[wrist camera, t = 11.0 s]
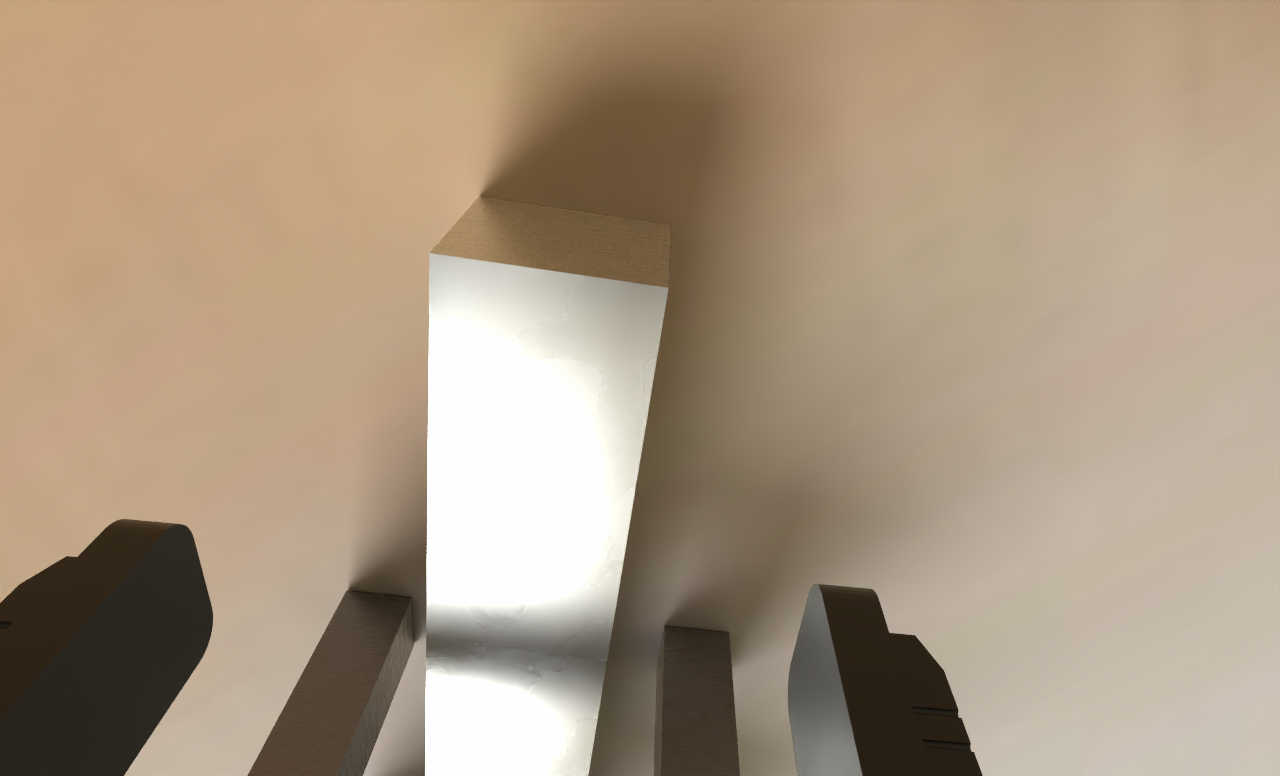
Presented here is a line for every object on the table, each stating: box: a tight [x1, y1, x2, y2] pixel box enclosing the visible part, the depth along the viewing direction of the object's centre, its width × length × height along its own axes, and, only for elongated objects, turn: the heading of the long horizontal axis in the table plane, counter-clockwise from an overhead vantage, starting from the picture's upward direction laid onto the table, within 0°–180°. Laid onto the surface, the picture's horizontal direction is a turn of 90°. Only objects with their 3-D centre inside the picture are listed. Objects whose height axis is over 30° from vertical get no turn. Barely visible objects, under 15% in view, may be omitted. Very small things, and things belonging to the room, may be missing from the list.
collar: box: [248, 591, 740, 776], centre depth 18 cm, size 2×11×8 cm, turn 84°
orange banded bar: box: [425, 196, 671, 776], centre depth 21 cm, size 26×4×4 cm, turn 172°
